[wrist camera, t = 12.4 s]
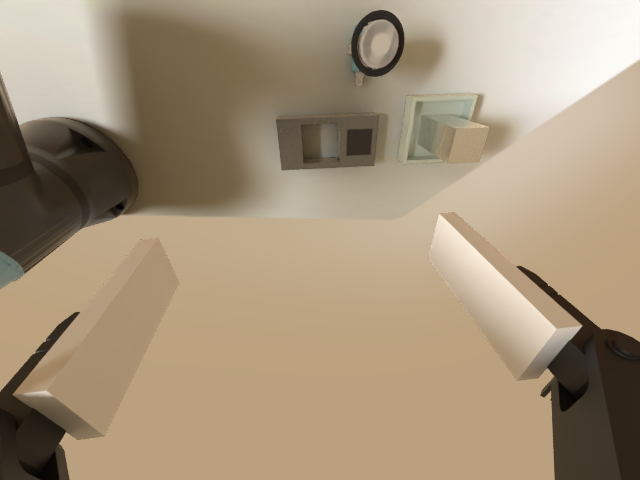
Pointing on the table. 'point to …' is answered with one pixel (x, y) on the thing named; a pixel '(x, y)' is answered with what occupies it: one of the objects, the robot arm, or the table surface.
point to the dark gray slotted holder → (352, 140)
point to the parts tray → (428, 106)
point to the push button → (376, 45)
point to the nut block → (452, 138)
